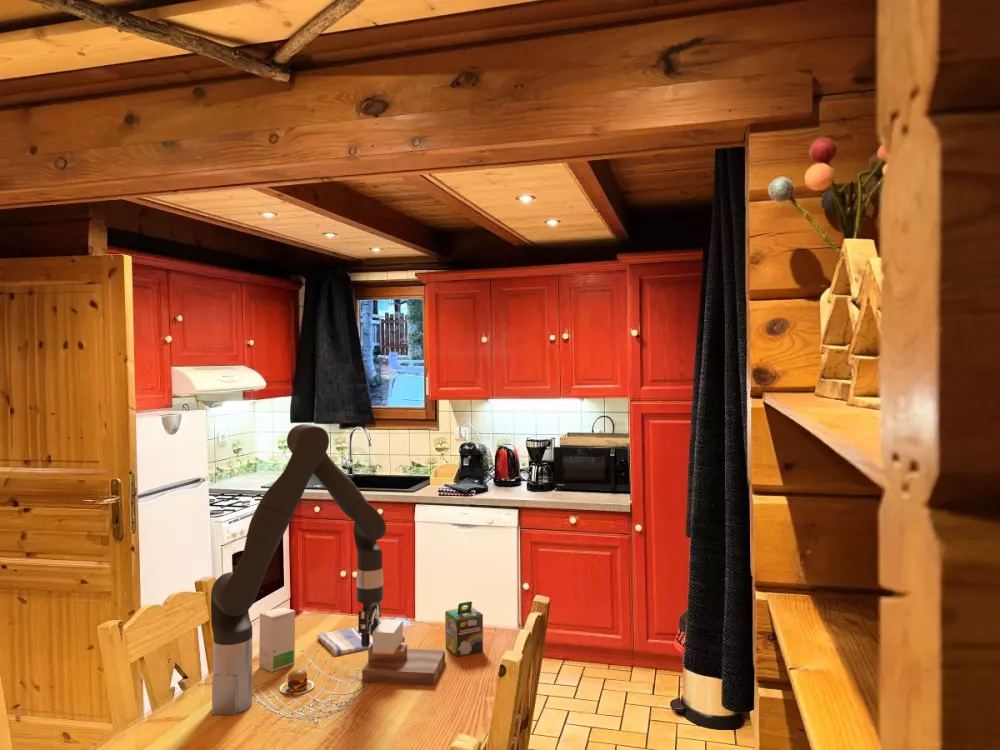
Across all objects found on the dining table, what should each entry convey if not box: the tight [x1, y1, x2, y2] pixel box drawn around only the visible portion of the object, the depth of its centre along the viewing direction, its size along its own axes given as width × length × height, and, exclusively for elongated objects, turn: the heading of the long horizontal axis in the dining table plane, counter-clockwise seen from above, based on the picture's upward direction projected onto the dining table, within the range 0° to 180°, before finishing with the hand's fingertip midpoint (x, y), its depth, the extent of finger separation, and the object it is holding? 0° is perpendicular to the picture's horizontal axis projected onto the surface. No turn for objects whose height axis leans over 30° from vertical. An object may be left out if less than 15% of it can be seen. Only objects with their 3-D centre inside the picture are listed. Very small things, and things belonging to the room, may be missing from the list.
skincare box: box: [258, 607, 296, 673], centre depth 201 cm, size 8×7×16 cm
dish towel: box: [316, 620, 406, 657], centre depth 221 cm, size 17×24×3 cm
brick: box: [373, 619, 404, 655], centre depth 198 cm, size 10×6×6 cm, turn 174°
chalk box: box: [444, 601, 484, 657], centre depth 214 cm, size 9×9×15 cm
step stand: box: [361, 643, 446, 686], centre depth 197 cm, size 16×20×7 cm
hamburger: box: [279, 668, 315, 695], centre depth 186 cm, size 12×12×6 cm
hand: (370, 640), depth 199 cm, fingers open, 8 cm apart
